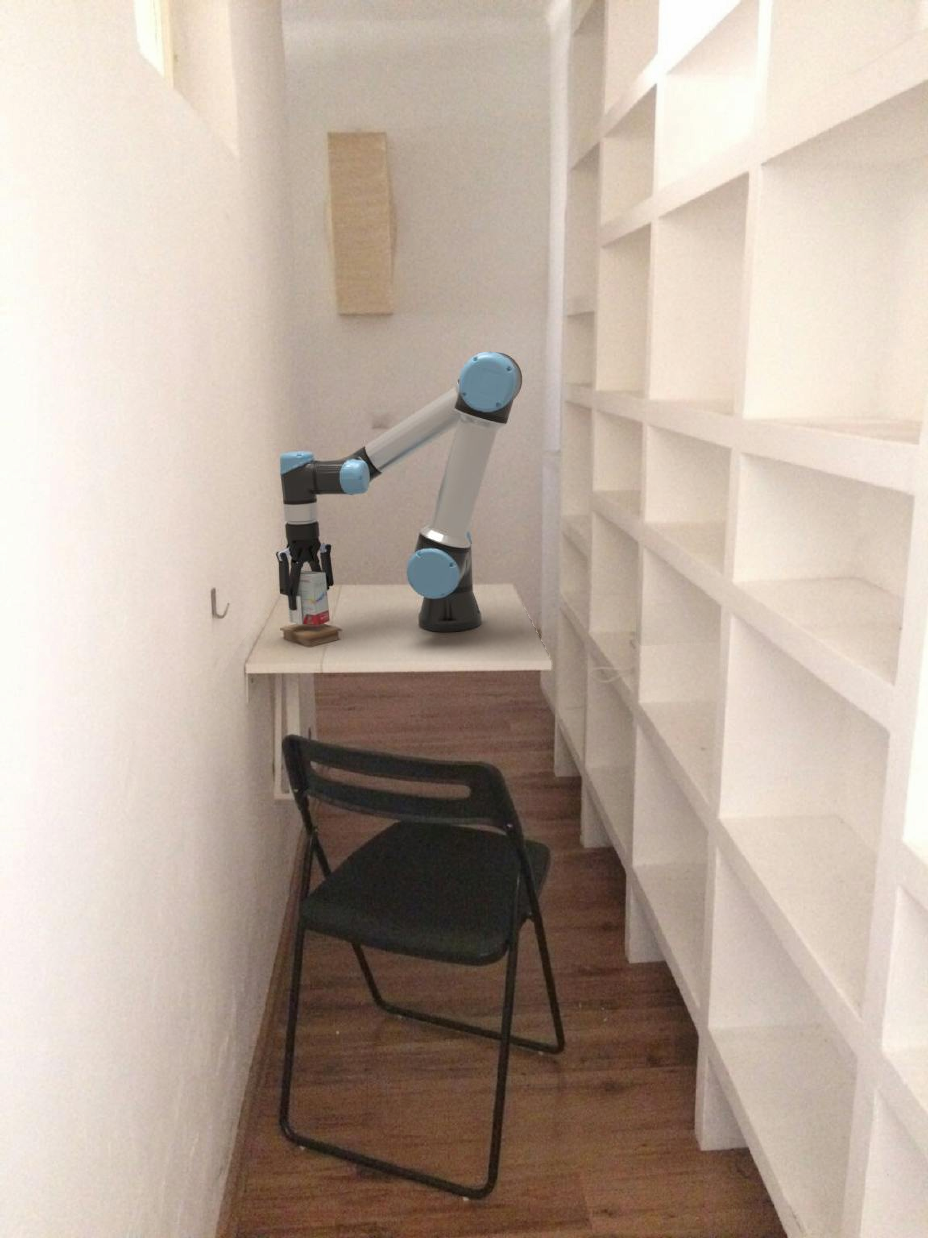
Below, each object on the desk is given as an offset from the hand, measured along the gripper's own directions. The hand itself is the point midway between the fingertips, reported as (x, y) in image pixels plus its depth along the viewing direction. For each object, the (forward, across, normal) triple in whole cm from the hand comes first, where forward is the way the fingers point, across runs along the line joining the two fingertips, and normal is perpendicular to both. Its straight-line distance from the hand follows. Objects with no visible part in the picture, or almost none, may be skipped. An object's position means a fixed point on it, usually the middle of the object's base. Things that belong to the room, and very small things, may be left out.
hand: (309, 620), depth 224 cm
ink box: (+1, 0, 0) cm, 1 cm away
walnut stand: (+4, 0, 0) cm, 4 cm away
